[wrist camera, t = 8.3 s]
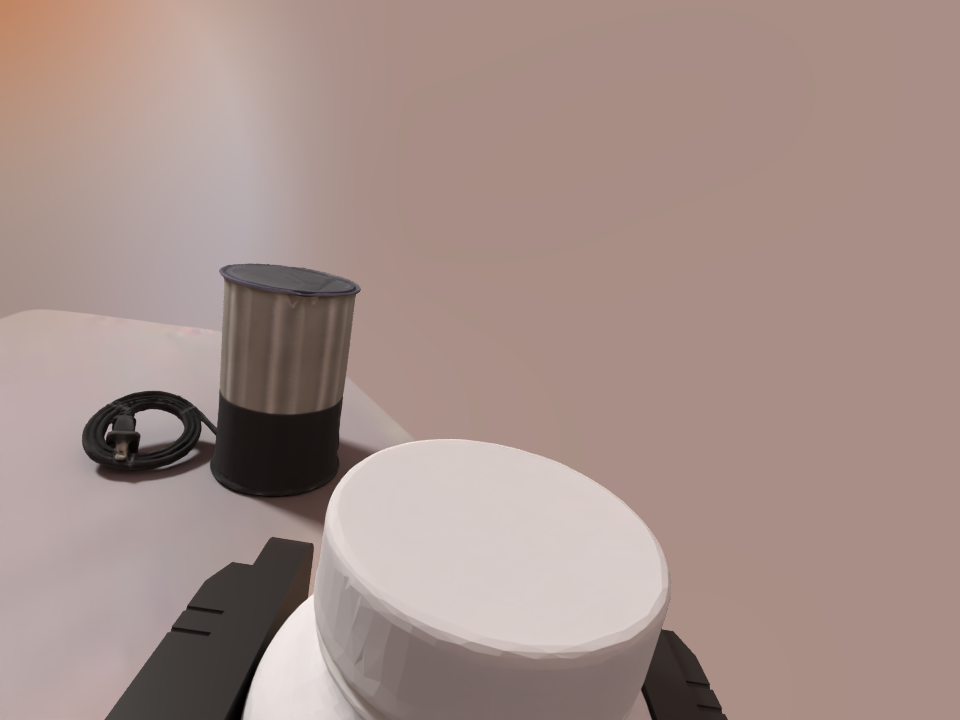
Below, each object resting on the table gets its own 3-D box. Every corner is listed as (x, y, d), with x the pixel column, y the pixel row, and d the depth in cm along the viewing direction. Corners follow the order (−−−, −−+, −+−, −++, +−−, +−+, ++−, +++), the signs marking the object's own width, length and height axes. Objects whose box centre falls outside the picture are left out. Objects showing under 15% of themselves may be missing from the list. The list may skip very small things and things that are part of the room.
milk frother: (362, 481, 40) (386, 292, 36) (115, 546, 29) (112, 283, 25) (282, 411, 49) (295, 256, 45) (73, 440, 38) (66, 237, 34)
